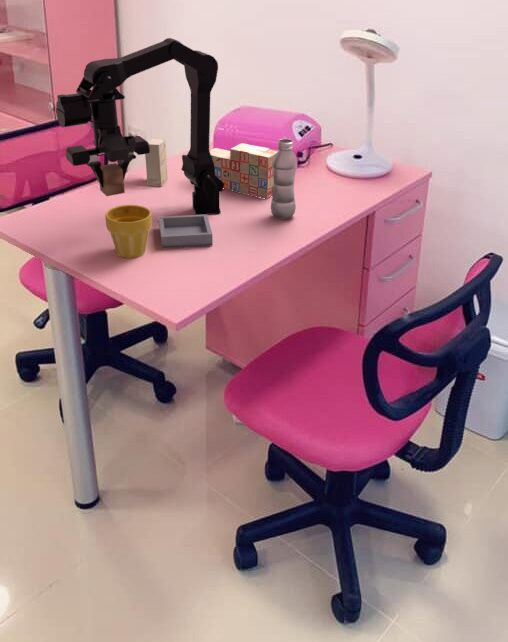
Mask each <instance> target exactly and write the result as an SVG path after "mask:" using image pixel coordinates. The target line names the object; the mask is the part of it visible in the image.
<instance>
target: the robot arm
mask: <svg viewBox="0 0 508 642" xmlns="http://www.w3.org/2000/svg"><path fill="white" fill-rule="evenodd" d="M172 60H174V61H175V62H177V63H179V64H180V65H183V67H184V73H185V74H184V75H185V79H186V81H187V84H188V86H189V90H190V133H189V134H190V136H189V137H190V138H189V139H190V140H189V141H190V144H189V147H190V149H189V151H188V152H187V154H182V155H181V160H182V166H181V169H180V170H181V171H183V174H184V177H186V178H187V180H189V181H190V184H191V185H193V187H194V188H193V189H194V191H192V192H191V197H192V209H193V211H194V212H195V215H205V214H207V215H218V214H219V213H220V214H221V212H222V211H221V207H220V192H223V190H224V189H223V187H224V183H223V182H222V181H221V180H220V179H219V178H218V177H216V176H215V167H214V162H213V159H212V156H211V154H210V132H211V131H210V130H211V129H210V128H211V127H210V126H211V95H212V94H211V92H212V90H213V88H214V86H215V85H216V82H217V77H218V70H219V63H218V61H217V59H216V58H215V57H214V56H213V55H211V54H208V53H206V52H202V51H200V50H197V49H195V50H193V49H192V48H190V47H188V46H187V45H185V44H183V43H182V42H181V41H180V40H177V39H174V38H171V37H167V38H165V39H164V40H163V41H160V42H157V43H154V44H152V45H150V46H147V47H145V48H144V47H143V48H142V49H139V50H137V51H135V52H132V53H129V54H127V55H124V56H121V57H116V58H104V59H99V60H98V59H97V60H93V61H90V62H89V63H87V64H86V65H85V69H84V70H83V77H82V79H81V81H80V83H79V85H78V86H77V88H76V91H75V92H76V93H72V94H71V93H70V94H58V95H57V101H56V105H55V107H56V108H55V114H56V119H57V121H58V124H59V126H60V127H61V128H68V127H74V126H81V125H87V124H88V123H89V122H91V124H90V125H91V128H92V129H93V141H92V142H93V145H94V147H92V148H86V147H85V146H83V145H74V146H68V147H67V148H66V150H65V157H66V159H65V160H67V161H68V162H69V163H70V164H71V165H72V166H74V167H75V166H76V167H77V166H83V165H86V166H88V167H90V169H91V170H92V172H93V174H94V176H95V179H96V180H97V182H98V183H99V187H100V186H101V187H102V188H103V187H104V186H103V177H102V172H101V166H102V162H100V161H99V158H98V157H101V156H106V158H107V161H109V162H110V163H116V162H117V163H116V164H117V165H118V166H120V167H121V168H122V170H123V180H125V178H126V174H127V170H128V167H129V165H130V163H131V161H133V160H135V159H137V155H138V156H140V155H145V154H147V153H150V146H149V143H148V142H147V141H148V140H147V139H145V138H143V137H141V136H139V135H136V136H134V135H128V136H127V135H126V136H123V134H122V131H121V127H120V125H119V121H118V120H119V119H118V111H117V109H118V108H117V102H116V101H119V100H124V99H125V97H126V96H125V95H124V94H123V93H121V92H120V90H118V87H120V86H121V85H123V84H124V83H125V82H126V81H127V80H128V79H129V78H131V77H132V76H134V75H138V74H140V73H142V72H145V71H148V70H150V69H151V68H156V67H158V66H160V65H162V64H165V63H167V62H169V61H172ZM135 154H136V155H135ZM220 214H219V215H220Z"/></svg>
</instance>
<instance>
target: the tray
mask: <svg viewBox="0 0 508 642" xmlns="http://www.w3.org/2000/svg"><path fill="white" fill-rule="evenodd" d="M158 225H159V226H158V227H159V236H160V242H161V243H160V244H161V249H177V248H180V249H181V248H194V247H210V246H209V245H213V243H214V241H213V240H214V239H213V232H212V227H211V224H210V219H209V217H208V214H201V215H196V214H187V215H186V214H185V215H172V216H170V215H169V216H168V215H167V216H158Z"/></svg>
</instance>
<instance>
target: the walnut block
mask: <svg viewBox="0 0 508 642" xmlns="http://www.w3.org/2000/svg"><path fill="white" fill-rule="evenodd" d="M101 172H102V177H103V186H104V187H103V188H102V187H101V186H100V185H99V189H100V192H101V193H103V195H104V196H106V197H111V196H117V195H122V194H125V193H126V192H125V182H124V180H125V179H124V180H123V170H122V168H121V167H120V166H118V164H117V163H116V162H113V163H109V164H103V165H102V164H101Z"/></svg>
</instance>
